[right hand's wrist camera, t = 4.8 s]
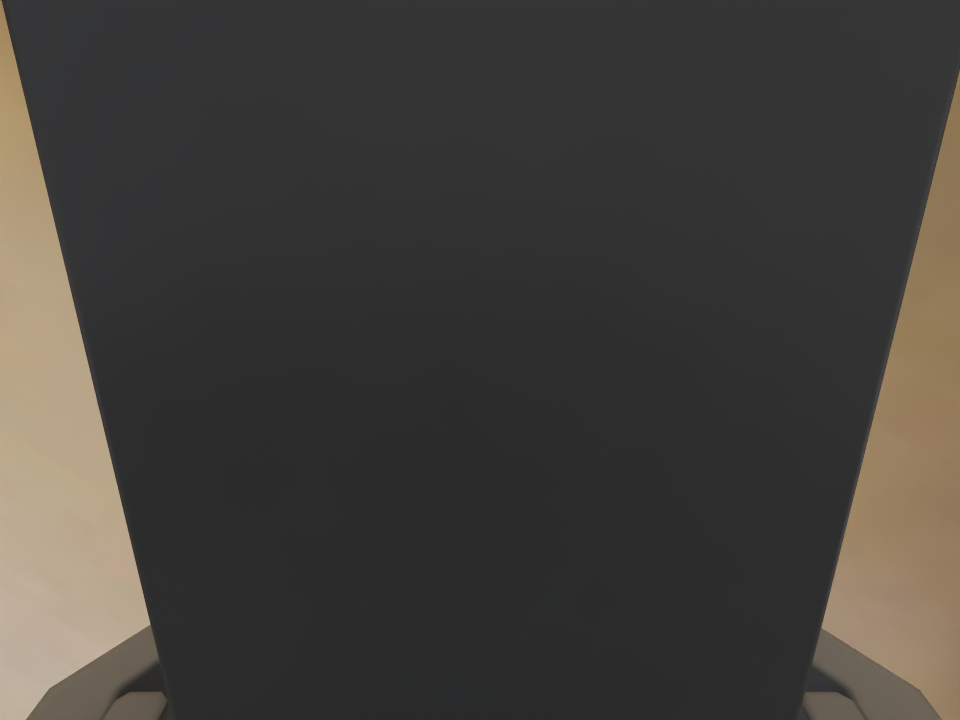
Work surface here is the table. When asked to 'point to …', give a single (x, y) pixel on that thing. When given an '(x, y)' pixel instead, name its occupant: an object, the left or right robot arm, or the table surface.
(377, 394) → the bar
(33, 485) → the table surface
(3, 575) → the table surface
